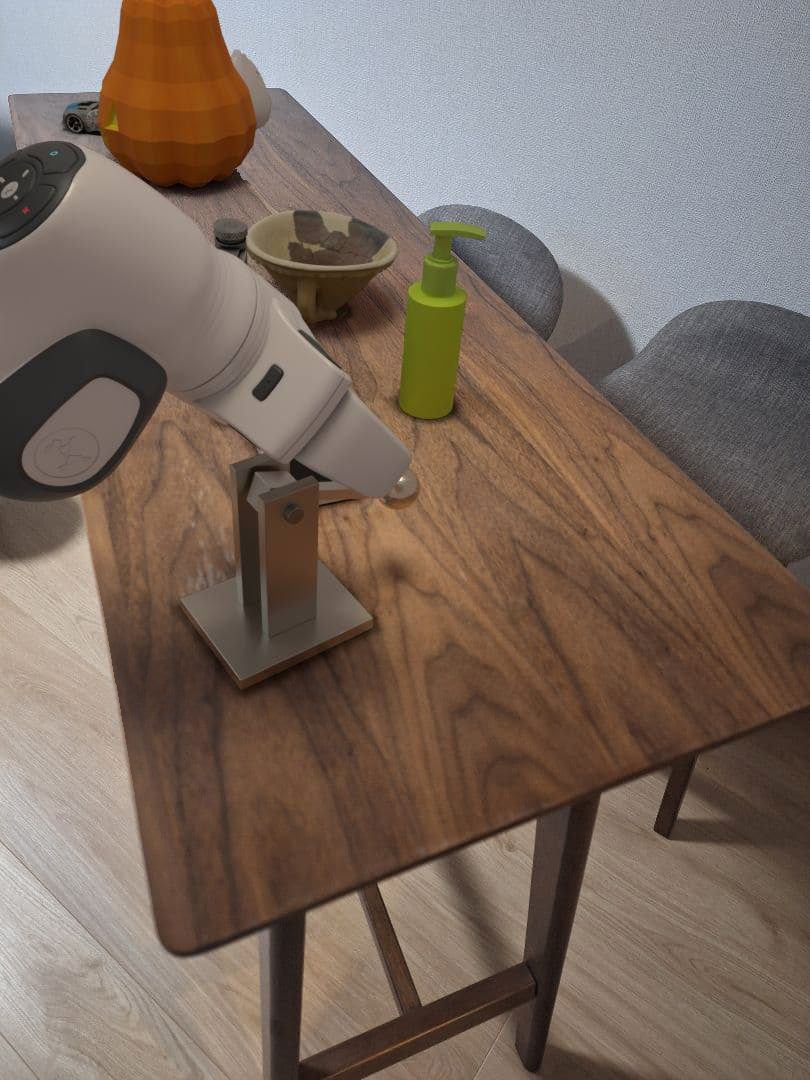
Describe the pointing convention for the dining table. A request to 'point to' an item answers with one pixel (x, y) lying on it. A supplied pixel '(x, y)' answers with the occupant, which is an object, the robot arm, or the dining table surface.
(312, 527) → the metal pivot stand
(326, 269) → the bowl
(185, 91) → the decorative pumpkin
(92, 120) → the toy car
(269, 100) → the toy character
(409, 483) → the lever
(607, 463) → the dining table surface
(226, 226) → the flask
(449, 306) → the soap dispenser
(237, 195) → the dining table surface
